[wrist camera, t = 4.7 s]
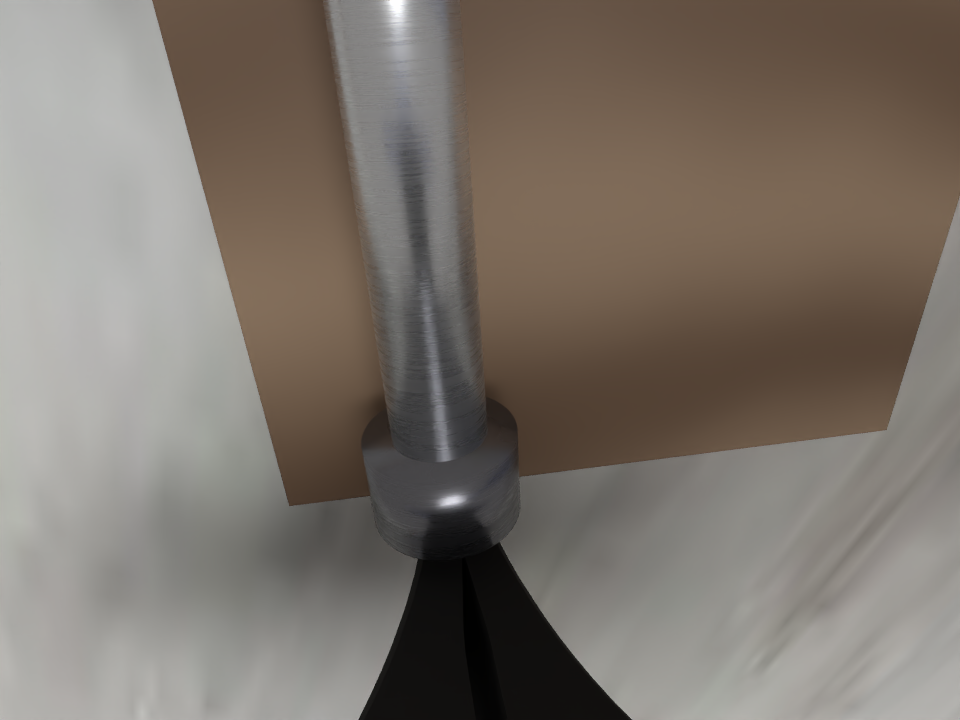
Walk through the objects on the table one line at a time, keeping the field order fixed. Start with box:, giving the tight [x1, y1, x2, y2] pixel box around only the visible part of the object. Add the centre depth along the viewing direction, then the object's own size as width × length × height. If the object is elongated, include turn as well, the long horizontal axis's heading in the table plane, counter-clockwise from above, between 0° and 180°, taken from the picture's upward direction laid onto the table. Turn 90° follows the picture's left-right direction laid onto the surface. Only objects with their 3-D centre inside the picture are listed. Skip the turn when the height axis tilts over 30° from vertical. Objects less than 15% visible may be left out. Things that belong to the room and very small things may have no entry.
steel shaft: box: [323, 0, 520, 561], centre depth 7 cm, size 16×3×3 cm, turn 3°
